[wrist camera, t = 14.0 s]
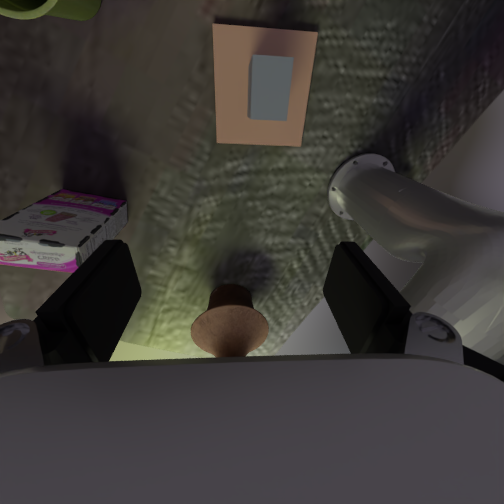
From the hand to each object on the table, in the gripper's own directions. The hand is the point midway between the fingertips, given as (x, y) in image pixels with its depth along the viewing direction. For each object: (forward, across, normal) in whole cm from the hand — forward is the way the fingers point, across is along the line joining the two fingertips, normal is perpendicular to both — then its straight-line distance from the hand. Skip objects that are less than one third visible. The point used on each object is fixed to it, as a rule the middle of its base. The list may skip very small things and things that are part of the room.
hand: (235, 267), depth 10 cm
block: (+32, -4, -8) cm, 34 cm away
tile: (+33, -4, -8) cm, 34 cm away
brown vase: (+34, +1, +36) cm, 49 cm away
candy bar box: (+34, +26, +11) cm, 44 cm away
